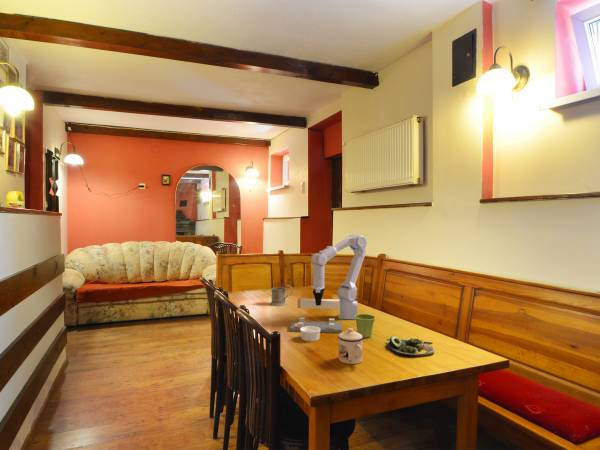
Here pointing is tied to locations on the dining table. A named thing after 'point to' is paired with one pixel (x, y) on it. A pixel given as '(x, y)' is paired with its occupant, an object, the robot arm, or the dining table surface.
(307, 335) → the ramekin
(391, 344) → the salad plate
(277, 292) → the mug
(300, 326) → the collar stand
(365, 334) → the plant pot
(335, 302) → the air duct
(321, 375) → the dining table surface
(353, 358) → the teacup with lid
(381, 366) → the dining table surface
